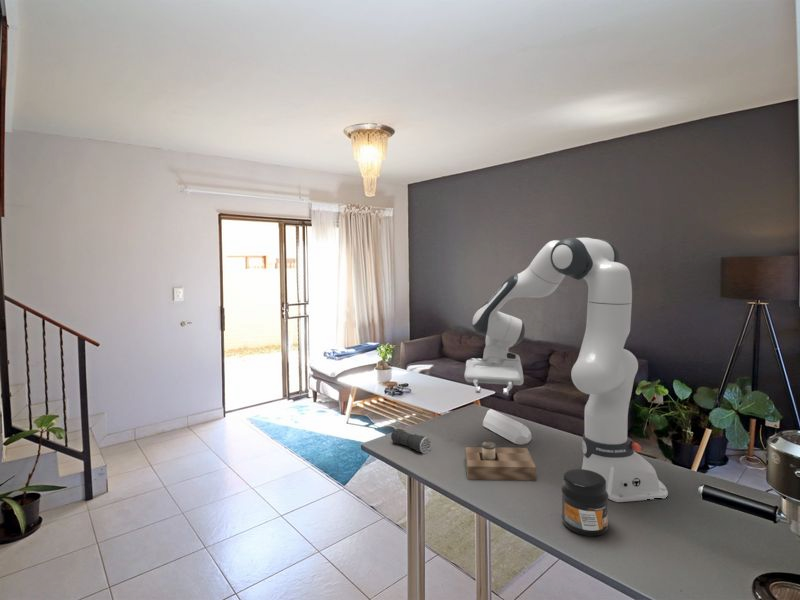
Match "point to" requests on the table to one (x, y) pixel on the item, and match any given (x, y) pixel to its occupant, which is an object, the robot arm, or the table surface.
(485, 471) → the socket block
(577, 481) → the supplement container
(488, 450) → the beech pin
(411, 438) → the flashlight
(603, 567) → the table surface
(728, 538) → the table surface
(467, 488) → the table surface
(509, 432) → the white faceted prism
